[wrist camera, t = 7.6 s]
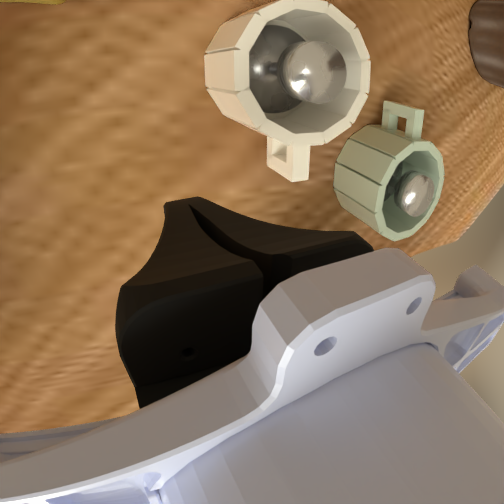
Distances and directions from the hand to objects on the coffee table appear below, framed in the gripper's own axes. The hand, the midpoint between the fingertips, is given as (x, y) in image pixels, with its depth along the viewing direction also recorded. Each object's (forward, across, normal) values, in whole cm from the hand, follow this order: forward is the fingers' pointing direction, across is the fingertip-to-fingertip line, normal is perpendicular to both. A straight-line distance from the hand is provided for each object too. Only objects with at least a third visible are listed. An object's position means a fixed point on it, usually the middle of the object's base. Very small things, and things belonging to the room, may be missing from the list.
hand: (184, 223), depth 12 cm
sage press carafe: (+10, -20, +2) cm, 22 cm away
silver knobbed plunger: (+10, -8, -5) cm, 14 cm away
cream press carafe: (+10, -8, -4) cm, 14 cm away
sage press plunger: (+10, -20, +3) cm, 22 cm away
